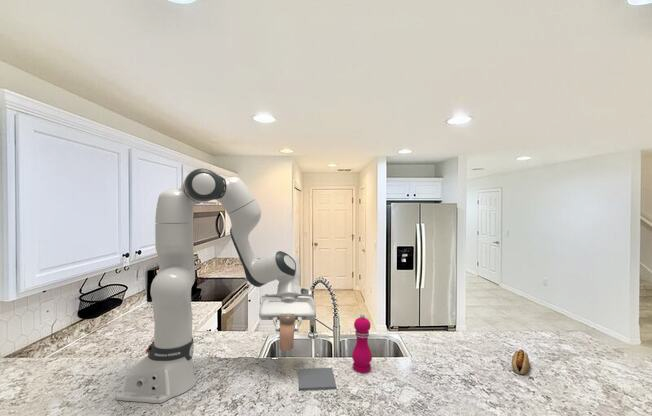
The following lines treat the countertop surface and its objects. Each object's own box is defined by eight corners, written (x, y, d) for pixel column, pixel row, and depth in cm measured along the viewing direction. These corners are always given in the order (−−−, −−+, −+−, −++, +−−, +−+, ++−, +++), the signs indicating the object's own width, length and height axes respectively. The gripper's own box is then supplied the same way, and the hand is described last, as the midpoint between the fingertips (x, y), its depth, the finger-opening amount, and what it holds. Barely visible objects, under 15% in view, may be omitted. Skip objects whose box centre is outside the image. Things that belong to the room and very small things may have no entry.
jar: (278, 351, 101) (279, 318, 101) (278, 344, 106) (279, 312, 106) (294, 350, 102) (295, 318, 102) (293, 343, 107) (295, 312, 107)
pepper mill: (371, 375, 106) (371, 317, 106) (350, 372, 107) (351, 316, 108) (372, 365, 113) (372, 311, 113) (353, 362, 114) (353, 309, 115)
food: (528, 378, 105) (528, 364, 105) (510, 373, 108) (510, 359, 108) (530, 363, 116) (530, 349, 116) (513, 358, 120) (513, 346, 120)
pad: (299, 390, 96) (299, 388, 96) (298, 371, 108) (298, 368, 108) (336, 389, 97) (336, 386, 97) (331, 369, 109) (332, 367, 109)
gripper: (260, 290, 110) (255, 326, 100) (315, 290, 112) (316, 326, 102) (261, 298, 115) (256, 334, 105) (314, 299, 117) (315, 334, 107)
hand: (286, 330), depth 103 cm, fingers closed on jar, 5 cm apart
